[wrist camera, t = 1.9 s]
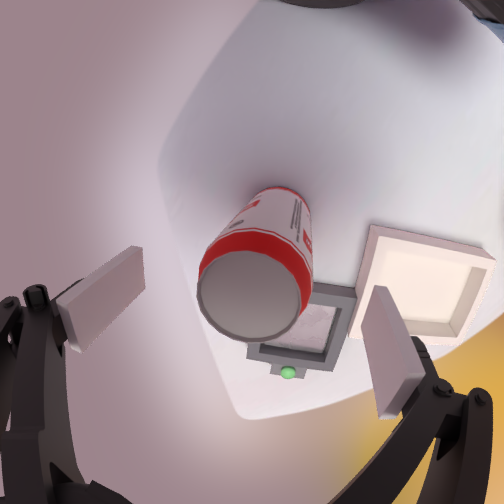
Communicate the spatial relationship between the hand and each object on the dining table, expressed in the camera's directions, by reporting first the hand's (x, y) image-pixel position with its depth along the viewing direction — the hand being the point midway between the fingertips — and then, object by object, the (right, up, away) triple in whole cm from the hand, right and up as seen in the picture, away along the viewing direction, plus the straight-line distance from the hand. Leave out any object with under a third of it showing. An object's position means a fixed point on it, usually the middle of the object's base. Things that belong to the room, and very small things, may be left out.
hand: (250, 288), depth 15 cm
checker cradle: (+5, -7, +17) cm, 20 cm away
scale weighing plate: (+6, -6, +18) cm, 19 cm away
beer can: (+3, +6, +13) cm, 14 cm away
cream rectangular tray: (+19, -2, +12) cm, 23 cm away
